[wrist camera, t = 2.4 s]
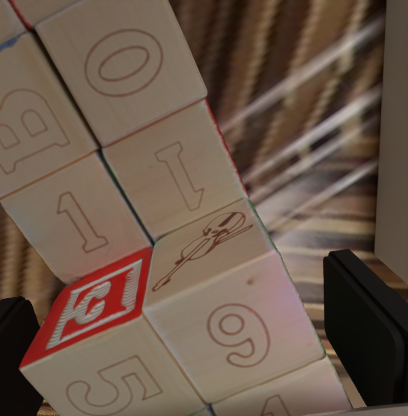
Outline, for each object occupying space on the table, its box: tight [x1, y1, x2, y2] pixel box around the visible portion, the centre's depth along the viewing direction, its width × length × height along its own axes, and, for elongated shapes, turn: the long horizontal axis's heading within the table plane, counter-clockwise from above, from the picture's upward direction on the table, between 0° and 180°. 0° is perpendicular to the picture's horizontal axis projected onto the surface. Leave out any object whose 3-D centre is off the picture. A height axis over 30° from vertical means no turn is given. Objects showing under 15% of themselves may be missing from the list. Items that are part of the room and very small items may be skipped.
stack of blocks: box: [0, 0, 353, 416], centre depth 13 cm, size 21×6×12 cm, turn 25°
